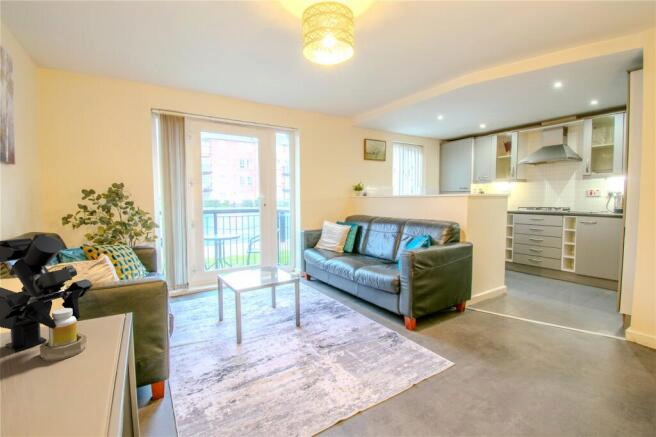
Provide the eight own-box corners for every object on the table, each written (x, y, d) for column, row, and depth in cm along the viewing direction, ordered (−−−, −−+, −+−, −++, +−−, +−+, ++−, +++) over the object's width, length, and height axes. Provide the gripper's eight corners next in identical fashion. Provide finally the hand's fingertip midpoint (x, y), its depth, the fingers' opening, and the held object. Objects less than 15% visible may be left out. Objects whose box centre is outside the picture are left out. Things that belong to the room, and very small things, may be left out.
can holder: (35, 355, 76) (35, 344, 76) (74, 341, 84) (74, 331, 84) (52, 364, 73) (51, 352, 72) (91, 348, 80) (91, 337, 80)
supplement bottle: (82, 343, 80) (81, 308, 79) (59, 353, 75) (58, 316, 74) (67, 340, 82) (66, 305, 81) (44, 349, 76) (42, 313, 76)
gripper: (2, 265, 69) (38, 318, 66) (87, 251, 87) (117, 293, 84) (-18, 294, 71) (15, 346, 69) (68, 275, 89) (96, 316, 87)
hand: (66, 323), depth 77 cm, fingers closed on supplement bottle, 5 cm apart
